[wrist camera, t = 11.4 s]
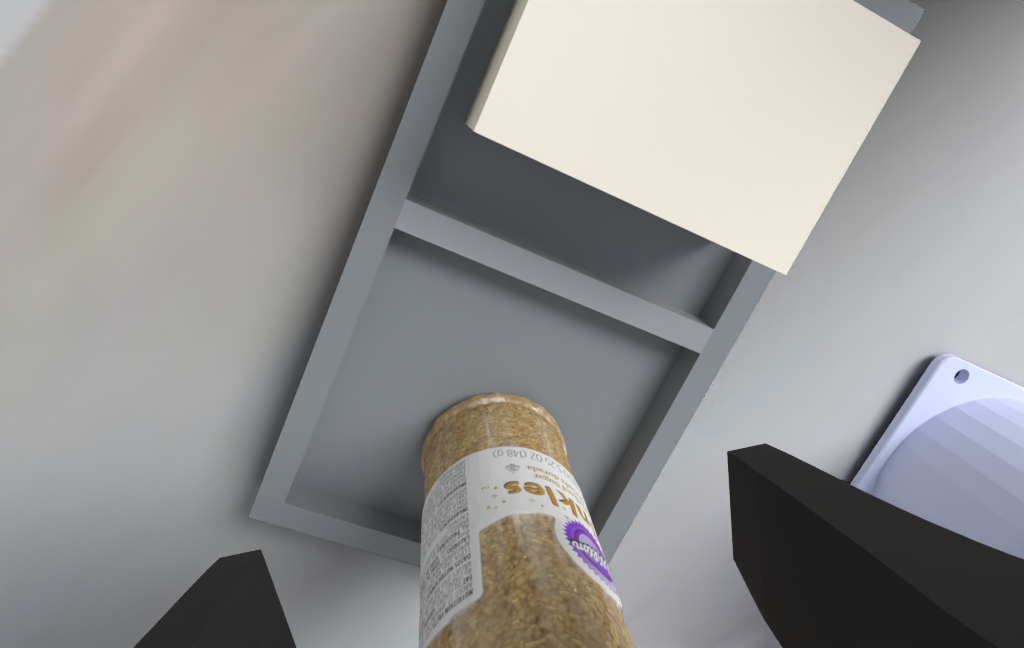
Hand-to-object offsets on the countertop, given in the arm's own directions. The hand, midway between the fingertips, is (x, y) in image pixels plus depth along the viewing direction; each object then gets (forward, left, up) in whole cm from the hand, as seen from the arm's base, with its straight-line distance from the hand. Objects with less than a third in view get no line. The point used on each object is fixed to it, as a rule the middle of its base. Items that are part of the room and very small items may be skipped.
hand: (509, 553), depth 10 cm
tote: (-2, -3, -10) cm, 11 cm away
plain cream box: (-2, -8, -10) cm, 13 cm away
